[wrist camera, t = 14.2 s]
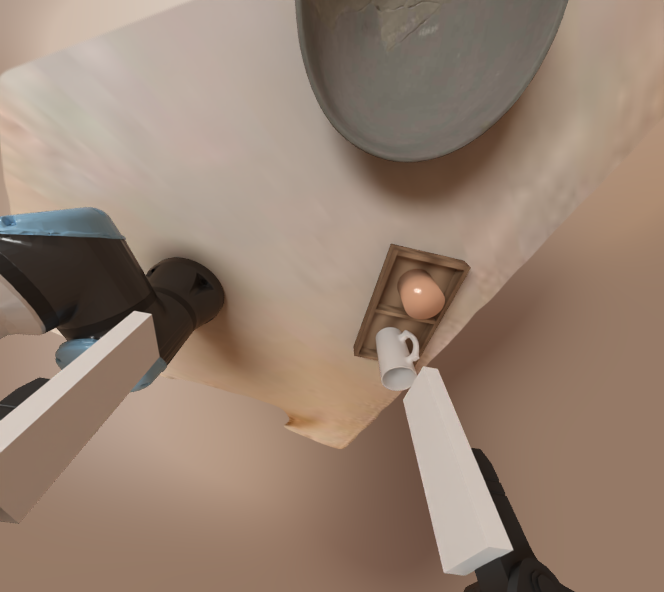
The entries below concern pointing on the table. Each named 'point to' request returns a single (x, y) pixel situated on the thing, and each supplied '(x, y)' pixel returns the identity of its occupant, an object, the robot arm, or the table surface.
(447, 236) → the table surface
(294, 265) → the table surface
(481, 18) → the bowl
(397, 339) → the mug
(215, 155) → the table surface
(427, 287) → the brown egg
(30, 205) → the table surface
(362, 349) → the divided wooden tray
